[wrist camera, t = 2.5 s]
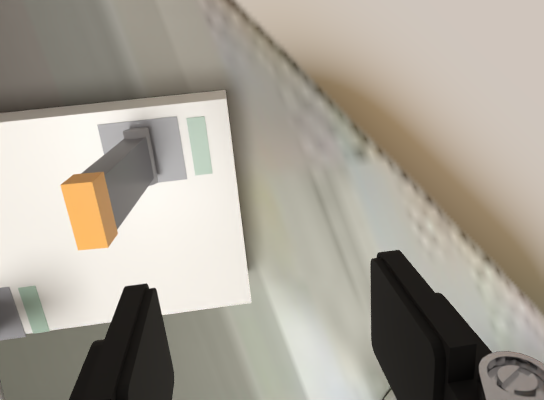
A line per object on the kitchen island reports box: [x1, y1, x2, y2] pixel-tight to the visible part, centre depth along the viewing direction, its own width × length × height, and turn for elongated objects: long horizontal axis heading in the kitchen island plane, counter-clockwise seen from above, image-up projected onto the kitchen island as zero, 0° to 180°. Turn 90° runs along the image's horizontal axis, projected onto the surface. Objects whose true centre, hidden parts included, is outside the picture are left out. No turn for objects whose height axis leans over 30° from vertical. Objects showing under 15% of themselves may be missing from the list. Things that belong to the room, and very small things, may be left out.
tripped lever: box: [60, 127, 158, 250], centre depth 25 cm, size 2×4×11 cm, turn 5°
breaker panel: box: [0, 90, 251, 340], centre depth 34 cm, size 24×16×5 cm
